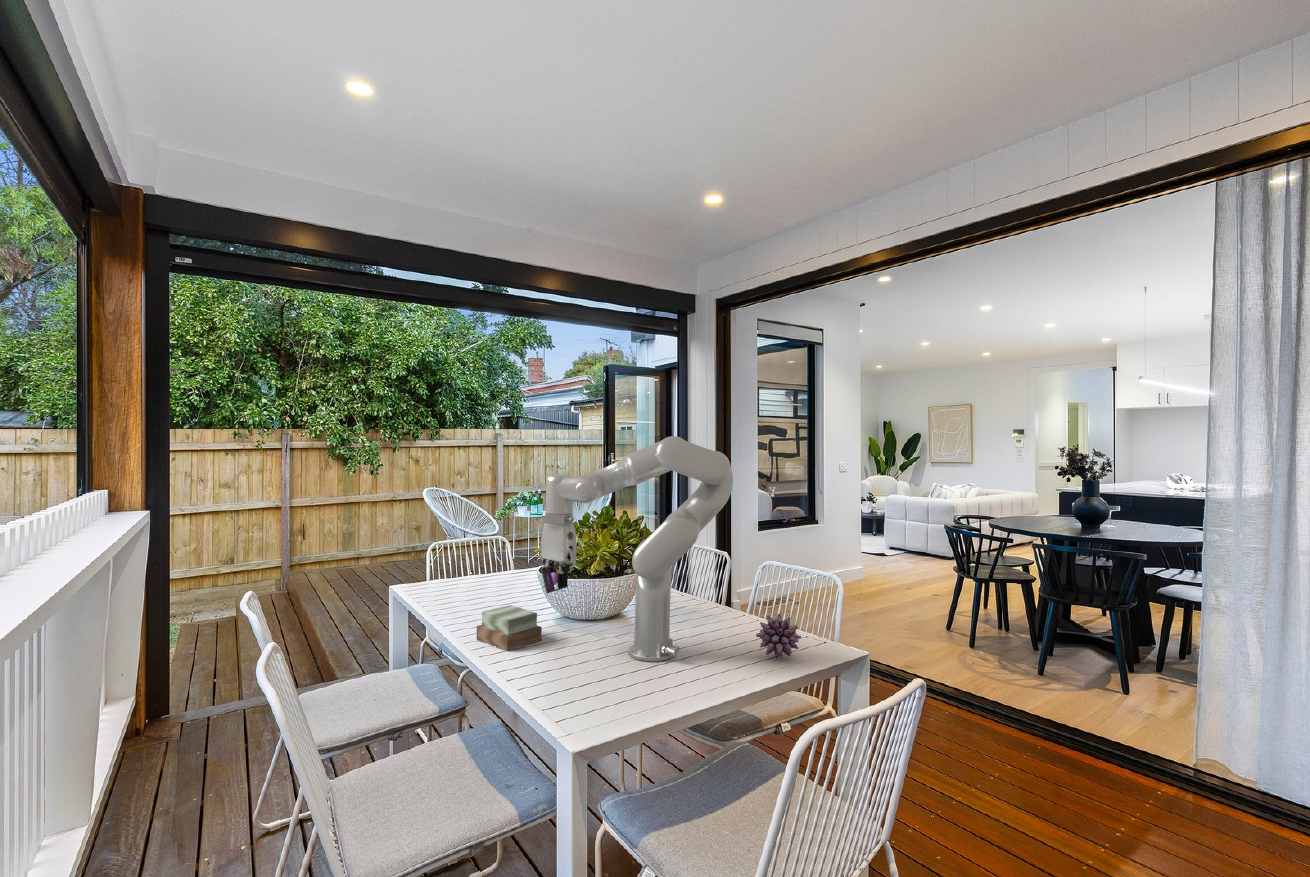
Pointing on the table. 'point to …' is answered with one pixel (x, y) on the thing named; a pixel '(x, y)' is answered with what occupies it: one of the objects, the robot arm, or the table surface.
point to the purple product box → (550, 578)
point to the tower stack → (509, 628)
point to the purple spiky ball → (778, 636)
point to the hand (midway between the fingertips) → (556, 585)
